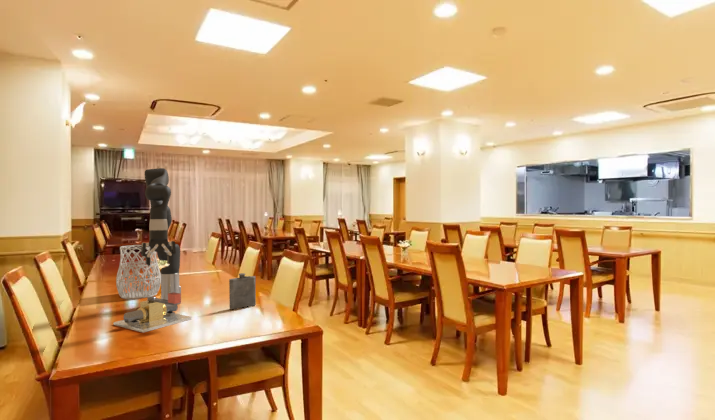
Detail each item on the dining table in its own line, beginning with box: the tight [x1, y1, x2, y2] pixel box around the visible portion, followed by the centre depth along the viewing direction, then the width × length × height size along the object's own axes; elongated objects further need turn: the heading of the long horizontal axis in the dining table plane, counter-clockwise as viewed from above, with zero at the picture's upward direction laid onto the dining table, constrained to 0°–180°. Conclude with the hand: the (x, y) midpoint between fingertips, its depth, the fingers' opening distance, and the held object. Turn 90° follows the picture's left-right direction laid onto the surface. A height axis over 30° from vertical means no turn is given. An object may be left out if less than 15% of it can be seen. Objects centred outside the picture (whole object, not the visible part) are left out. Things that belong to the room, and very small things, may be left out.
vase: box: [115, 244, 161, 300], centre depth 254 cm, size 24×24×30 cm
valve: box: [113, 300, 192, 333], centre depth 195 cm, size 24×23×10 cm
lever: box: [146, 292, 182, 306], centre depth 190 cm, size 21×4×5 cm, turn 59°
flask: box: [228, 272, 257, 310], centre depth 222 cm, size 4×14×18 cm, turn 129°
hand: (158, 264), depth 190 cm, fingers open, 8 cm apart
